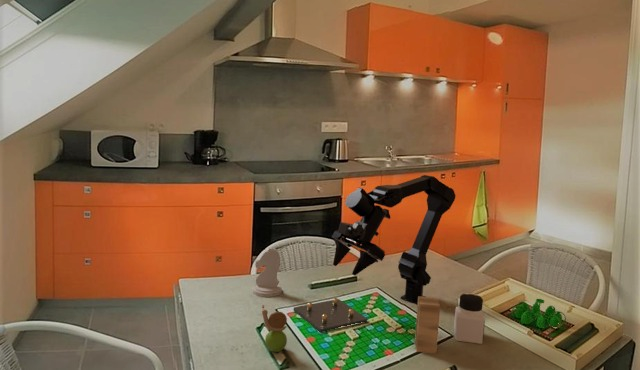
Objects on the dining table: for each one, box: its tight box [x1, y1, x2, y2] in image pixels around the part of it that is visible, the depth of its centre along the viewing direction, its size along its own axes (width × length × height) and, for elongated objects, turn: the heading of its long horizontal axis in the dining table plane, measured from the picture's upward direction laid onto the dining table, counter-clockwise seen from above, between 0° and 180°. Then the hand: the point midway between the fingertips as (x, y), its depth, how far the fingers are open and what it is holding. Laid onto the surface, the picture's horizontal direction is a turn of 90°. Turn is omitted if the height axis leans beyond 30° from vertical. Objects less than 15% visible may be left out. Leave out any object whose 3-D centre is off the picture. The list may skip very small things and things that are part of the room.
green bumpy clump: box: [511, 298, 567, 329], centre depth 145 cm, size 15×15×7 cm
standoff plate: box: [293, 297, 368, 333], centre depth 143 cm, size 16×16×3 cm
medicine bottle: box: [453, 292, 486, 345], centre depth 133 cm, size 7×7×12 cm
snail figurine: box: [261, 304, 288, 353], centre depth 121 cm, size 5×6×12 cm
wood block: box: [414, 296, 441, 354], centre depth 125 cm, size 5×5×13 cm
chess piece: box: [251, 247, 283, 298], centre depth 159 cm, size 10×10×15 cm
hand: (343, 270), depth 140 cm, fingers open, 9 cm apart
